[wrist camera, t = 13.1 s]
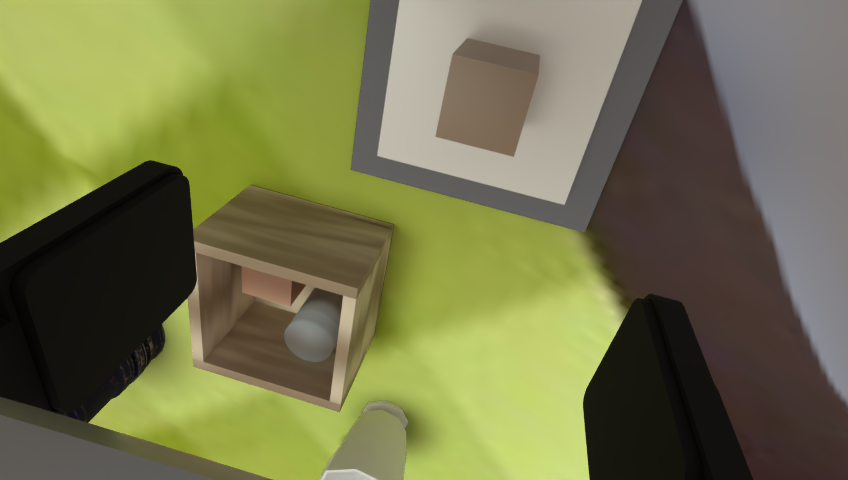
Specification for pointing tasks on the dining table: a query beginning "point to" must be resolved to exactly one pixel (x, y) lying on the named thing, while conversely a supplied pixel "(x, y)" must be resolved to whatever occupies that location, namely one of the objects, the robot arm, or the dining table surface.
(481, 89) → the lid
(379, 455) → the cup
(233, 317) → the crate
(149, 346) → the storage jar
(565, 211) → the mat
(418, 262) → the dining table surface
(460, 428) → the dining table surface
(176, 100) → the dining table surface
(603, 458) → the robot arm
